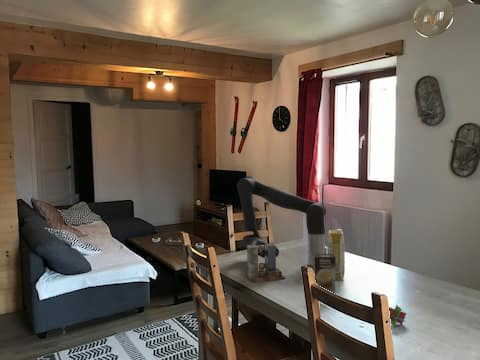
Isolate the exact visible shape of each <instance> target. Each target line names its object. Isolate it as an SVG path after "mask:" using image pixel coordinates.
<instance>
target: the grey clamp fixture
mask: <svg viewBox="0 0 480 360" xmlns="http://www.w3.org/2000/svg"><path fill="white" fill-rule="evenodd" d="M276 247H277V246H276V244H274V243H273V242H270V243H267V244H265V258H264V262H260V263H259V262H258V270H264V271H265V274H266V275H267V276H268V271H274V270H276V268H277V264H276V263H277V258H276Z"/></svg>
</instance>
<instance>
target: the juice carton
mask: <svg viewBox="0 0 480 360" xmlns="http://www.w3.org/2000/svg"><path fill="white" fill-rule="evenodd" d="M326 238H327V242H326V244H327V245H326V248H327V254H334V255H335V257H336V262H335V282H338V281H340V282H341V281H344V278H345V271H346V267H345V264H346V263H345V256H346V255H345V253H346V252H345V251H346V250H345V245H346V244H345V243H346V242H345V241H346V240H345V237H344V232H343V230H342V229H341V228H336V229H329V230H328V234H327V237H326Z"/></svg>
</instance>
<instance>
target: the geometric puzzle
mask: <svg viewBox="0 0 480 360" xmlns="http://www.w3.org/2000/svg"><path fill="white" fill-rule="evenodd" d="M394 306H395V308H393V307H394ZM389 311H390V319H391V323H390V324H391V325H392V326H393V327H394V328H395V326H397V325H396V324H398V323H400V324H399V325H403V323H405V322H406V318H407V317H406V316H407V312H405V311H403V309H402V308H401V307H400V306H398V304H395V305H393V306H391V307H390V306H389Z"/></svg>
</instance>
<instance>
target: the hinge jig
mask: <svg viewBox="0 0 480 360" xmlns="http://www.w3.org/2000/svg"><path fill="white" fill-rule="evenodd" d="M258 250H264V245H259V246H256V245H247V248H246V252H247V253H246V256H247V259H246V262H247V265H246V266H247V268H246V269H247V271H246V272H244V275H245V276H246V278H247V279H248V280H249V281H250V283H258V282H268V281H277V280H278V281H279V280H285V278H286V277H285V276H284V275H283V271H282V270H280V269H279V268H278V267H276V270H274V271H268V276H267V275H266V274H265V269H263V270H260V269H259V256H258Z"/></svg>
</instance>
